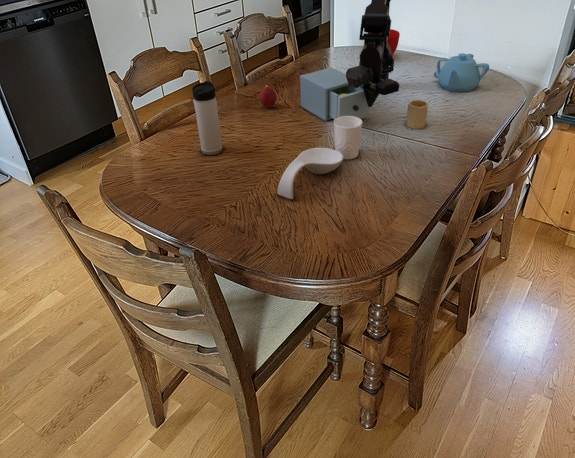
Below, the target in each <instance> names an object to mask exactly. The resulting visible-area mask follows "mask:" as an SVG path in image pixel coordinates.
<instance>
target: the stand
mask: <svg viewBox="0 0 575 458" xmlns="http://www.w3.org/2000/svg"><path fill="white" fill-rule="evenodd" d="M428 109H429V103H428V101H426V100H422V99H412V100H410V101H408V104H407V114H406V120H405V122H406V123H405V125H406V126H407V127H408V128H409V129H413V130H414V129H415V130H417V129H418V130H419V129H423V128H425V127H426V123H427V116H428Z"/></svg>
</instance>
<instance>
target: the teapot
mask: <svg viewBox="0 0 575 458" xmlns="http://www.w3.org/2000/svg"><path fill="white" fill-rule="evenodd" d="M474 57H475V56H474V54H473V53H467V54H466V53H463V52H462V53H458V55H454V56H451V57H449V58H447V57H441V58H439V59H438V60H437V62H436V71H434V72H433V77H434V78H435V79H437V81H438V83H439V85H440V87H442V88H443V89H445V90H447V91H451V92H460V93H461V92H462V93H463V92H468V91H472V90H473V89H475V88H476V87H477V86H478V85H479V84H480V82H481V79H482V78H484V76H486V74H487V73H488V71H489V69H490V64H489V63H485V62H480V63H477V61H476V59H474ZM443 61H444V62H445V63H444V64H443V65H442V67H441V62H443ZM479 67H480V68H481V67H482V72H480V69H479Z"/></svg>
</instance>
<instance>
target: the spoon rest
mask: <svg viewBox="0 0 575 458" xmlns="http://www.w3.org/2000/svg"><path fill="white" fill-rule="evenodd" d="M343 160H344V159H343V155H342V154H341V153H340V152H338V151H336V150H335V149H333V148H328V147H312V148H308V149H305V150H303V151H302V152H300V153H299V154H298V155H297V157H296V158H294V160H292V161H291V162H290V164H288V165H287V167H286V169H285V170H284V172H283V173H282V175H281V178H280V180H279V183H278V186H277V192H276V193H277V195H279V196H281V197H283V198H285V199H289V200H293V199H294V182H295V178H296V177H297V174H298V173H299V172H300V170H302V169H303V168H304V167H305V168H306V170H307V171H310V172H311V173H313V174H315V175H325V174H328V173H330V172H332V171H335V170H336V169H337V168H338V167H339V166H340V165H341V164H342V163H343Z"/></svg>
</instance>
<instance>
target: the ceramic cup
mask: <svg viewBox="0 0 575 458" xmlns="http://www.w3.org/2000/svg"><path fill="white" fill-rule="evenodd" d="M368 34H370V33H368ZM400 34H401V33H400V31H399V30H396V29H392V28H390V36H389V37H388V38H387V42H388V44H389V46H390V47H391V55H393V56H394V54H395V53H396V51H397V48H398V46H399V43H400V42H399V41H400V37H401V36H400Z"/></svg>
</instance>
